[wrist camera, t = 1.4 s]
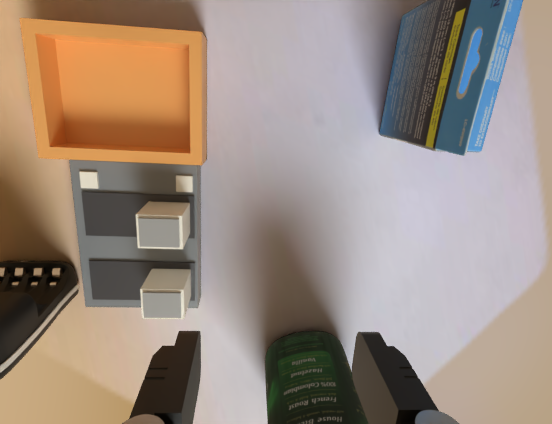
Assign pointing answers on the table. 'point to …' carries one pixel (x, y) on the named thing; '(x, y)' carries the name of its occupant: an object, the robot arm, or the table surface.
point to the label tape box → (448, 73)
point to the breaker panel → (130, 227)
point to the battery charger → (30, 304)
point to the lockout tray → (117, 92)
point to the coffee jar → (310, 381)
